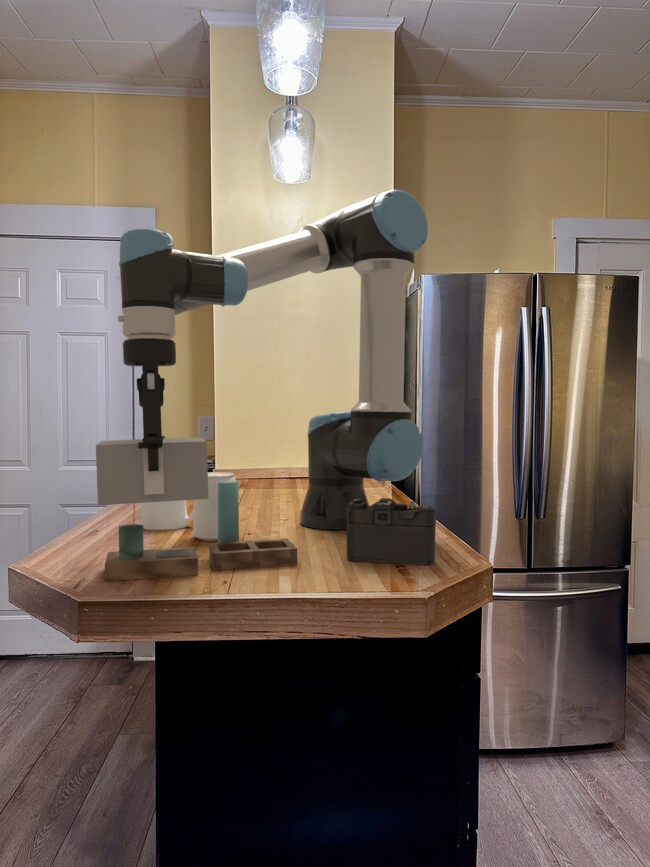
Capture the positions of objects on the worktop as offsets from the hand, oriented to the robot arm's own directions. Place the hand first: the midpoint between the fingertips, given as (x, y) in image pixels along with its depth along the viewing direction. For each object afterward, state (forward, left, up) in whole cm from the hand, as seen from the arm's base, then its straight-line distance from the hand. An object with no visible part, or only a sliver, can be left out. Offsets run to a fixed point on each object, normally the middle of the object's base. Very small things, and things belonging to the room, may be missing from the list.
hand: (154, 488), depth 94 cm
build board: (-15, -2, -12) cm, 20 cm away
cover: (0, 0, -1) cm, 1 cm away
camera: (-38, +1, -13) cm, 40 cm away
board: (0, 0, -12) cm, 12 cm away
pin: (-12, -9, -13) cm, 20 cm away
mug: (-3, -35, -13) cm, 37 cm away
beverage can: (-11, -22, -13) cm, 28 cm away
